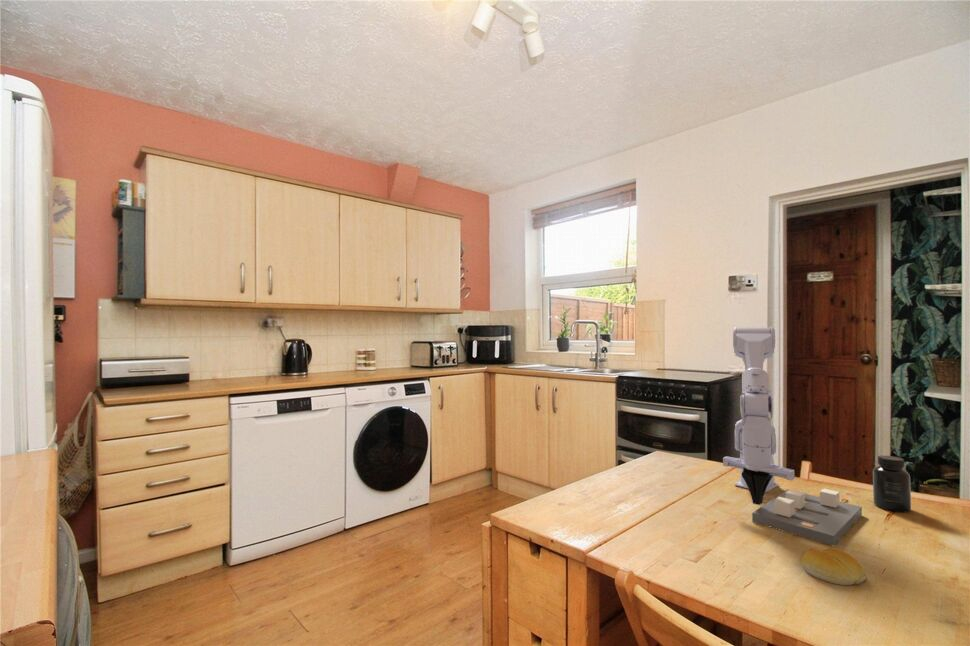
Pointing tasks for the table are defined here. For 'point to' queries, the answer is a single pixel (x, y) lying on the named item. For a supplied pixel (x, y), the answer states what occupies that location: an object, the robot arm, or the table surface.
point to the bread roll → (833, 566)
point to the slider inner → (829, 498)
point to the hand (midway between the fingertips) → (757, 503)
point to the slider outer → (784, 506)
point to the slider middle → (796, 498)
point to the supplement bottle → (891, 485)
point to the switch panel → (811, 519)
